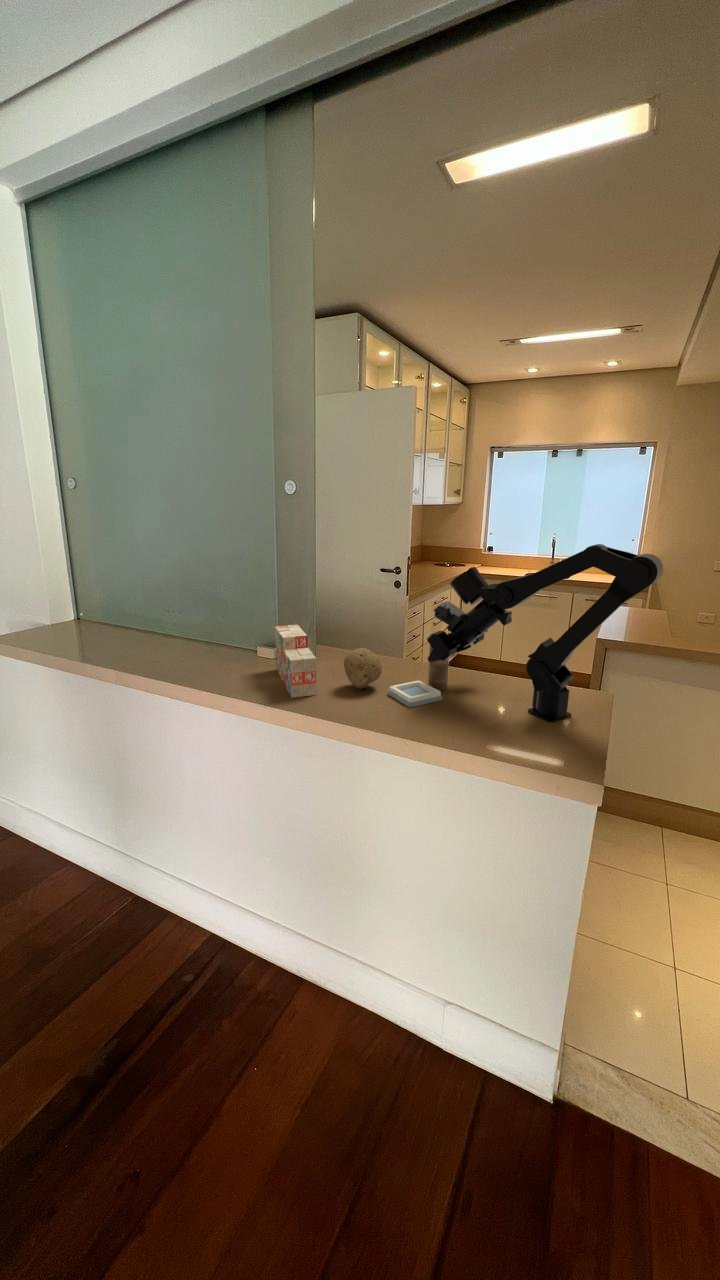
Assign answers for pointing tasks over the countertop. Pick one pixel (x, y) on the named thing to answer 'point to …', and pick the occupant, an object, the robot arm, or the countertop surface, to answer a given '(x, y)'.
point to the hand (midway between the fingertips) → (433, 657)
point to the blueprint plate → (414, 693)
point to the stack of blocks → (295, 661)
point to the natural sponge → (362, 667)
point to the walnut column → (438, 673)
